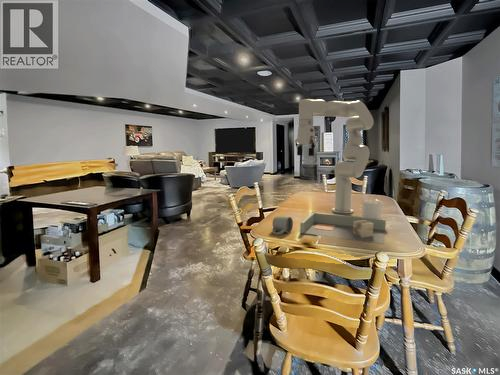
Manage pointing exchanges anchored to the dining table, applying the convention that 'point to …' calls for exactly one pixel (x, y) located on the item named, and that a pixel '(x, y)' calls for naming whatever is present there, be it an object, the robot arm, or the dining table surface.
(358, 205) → the dining table surface
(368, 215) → the candle holder
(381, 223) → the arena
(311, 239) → the dining table surface
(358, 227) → the birch cube
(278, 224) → the ceramic mug
